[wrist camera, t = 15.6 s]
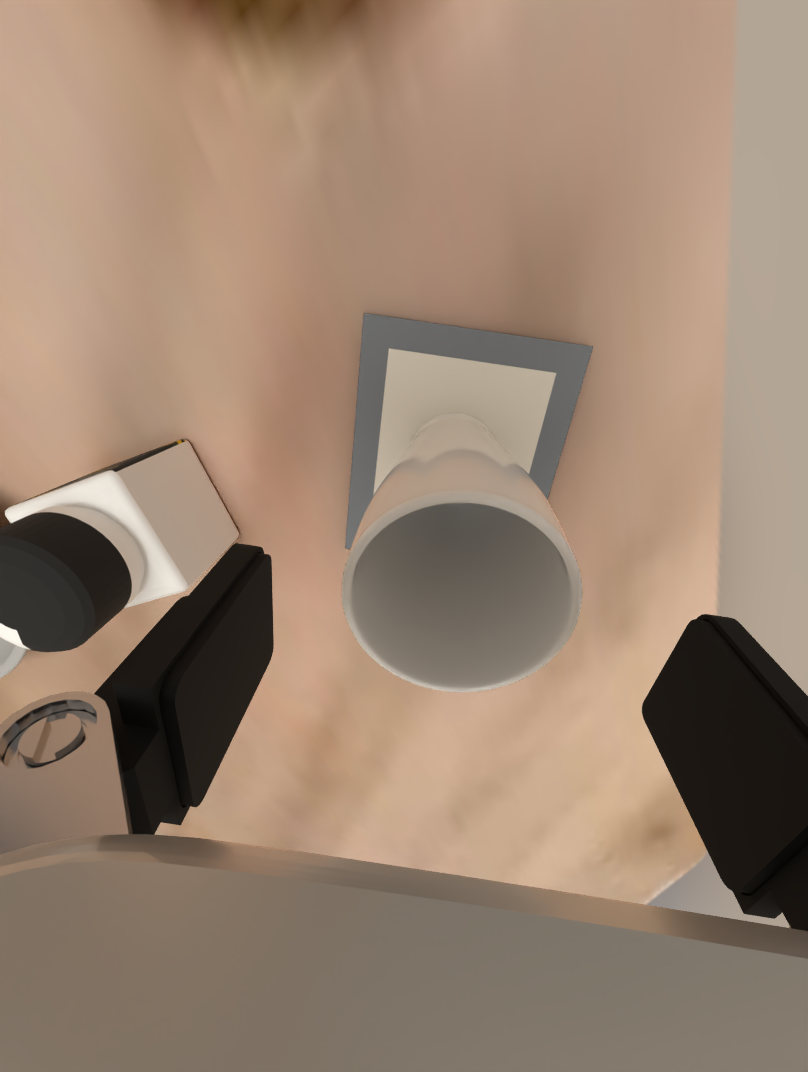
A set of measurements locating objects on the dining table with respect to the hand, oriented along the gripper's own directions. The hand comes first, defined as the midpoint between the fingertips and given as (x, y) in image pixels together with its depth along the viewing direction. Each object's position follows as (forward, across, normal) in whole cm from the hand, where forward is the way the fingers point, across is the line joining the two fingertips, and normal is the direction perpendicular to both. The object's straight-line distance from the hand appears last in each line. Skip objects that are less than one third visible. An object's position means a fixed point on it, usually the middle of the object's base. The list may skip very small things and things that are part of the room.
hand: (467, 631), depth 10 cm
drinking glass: (+17, 0, +1) cm, 17 cm away
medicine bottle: (+18, +18, +8) cm, 26 cm away
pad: (+18, 0, +2) cm, 18 cm away
